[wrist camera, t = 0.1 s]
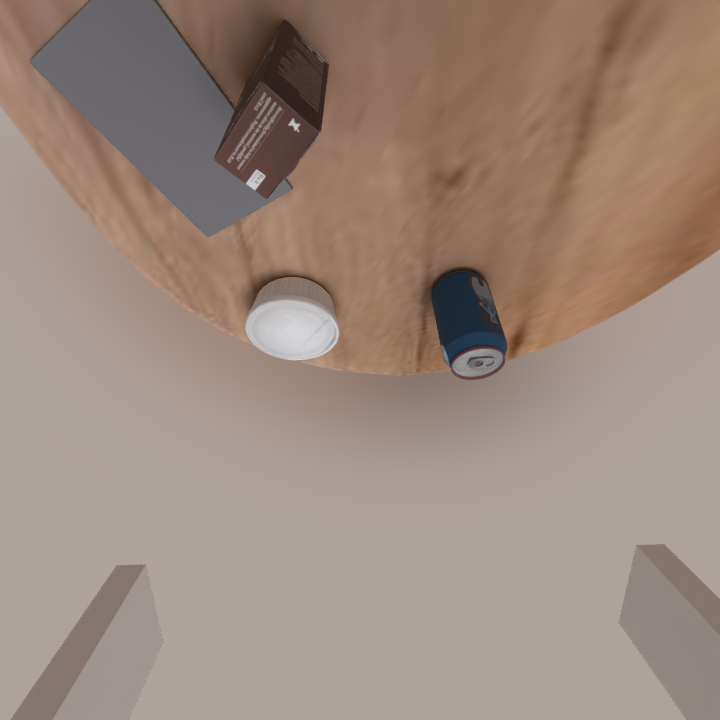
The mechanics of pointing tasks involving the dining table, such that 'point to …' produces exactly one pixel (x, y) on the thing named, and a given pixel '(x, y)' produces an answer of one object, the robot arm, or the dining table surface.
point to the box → (276, 114)
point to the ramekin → (293, 319)
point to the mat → (152, 105)
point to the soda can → (468, 326)
